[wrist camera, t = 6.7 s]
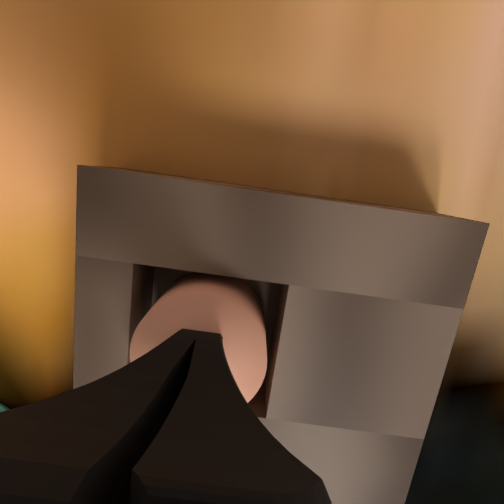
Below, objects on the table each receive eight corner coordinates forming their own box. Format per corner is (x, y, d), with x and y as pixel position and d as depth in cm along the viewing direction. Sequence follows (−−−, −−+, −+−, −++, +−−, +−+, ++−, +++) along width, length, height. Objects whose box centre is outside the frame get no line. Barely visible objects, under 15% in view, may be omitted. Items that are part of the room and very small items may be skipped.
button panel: (438, 213, 13) (489, 223, 10) (336, 594, 18) (352, 675, 15) (117, 167, 13) (77, 164, 10) (99, 564, 18) (68, 641, 15)
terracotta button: (273, 278, 13) (277, 305, 10) (256, 377, 14) (256, 427, 11) (160, 262, 13) (133, 285, 10) (152, 363, 14) (125, 410, 11)
